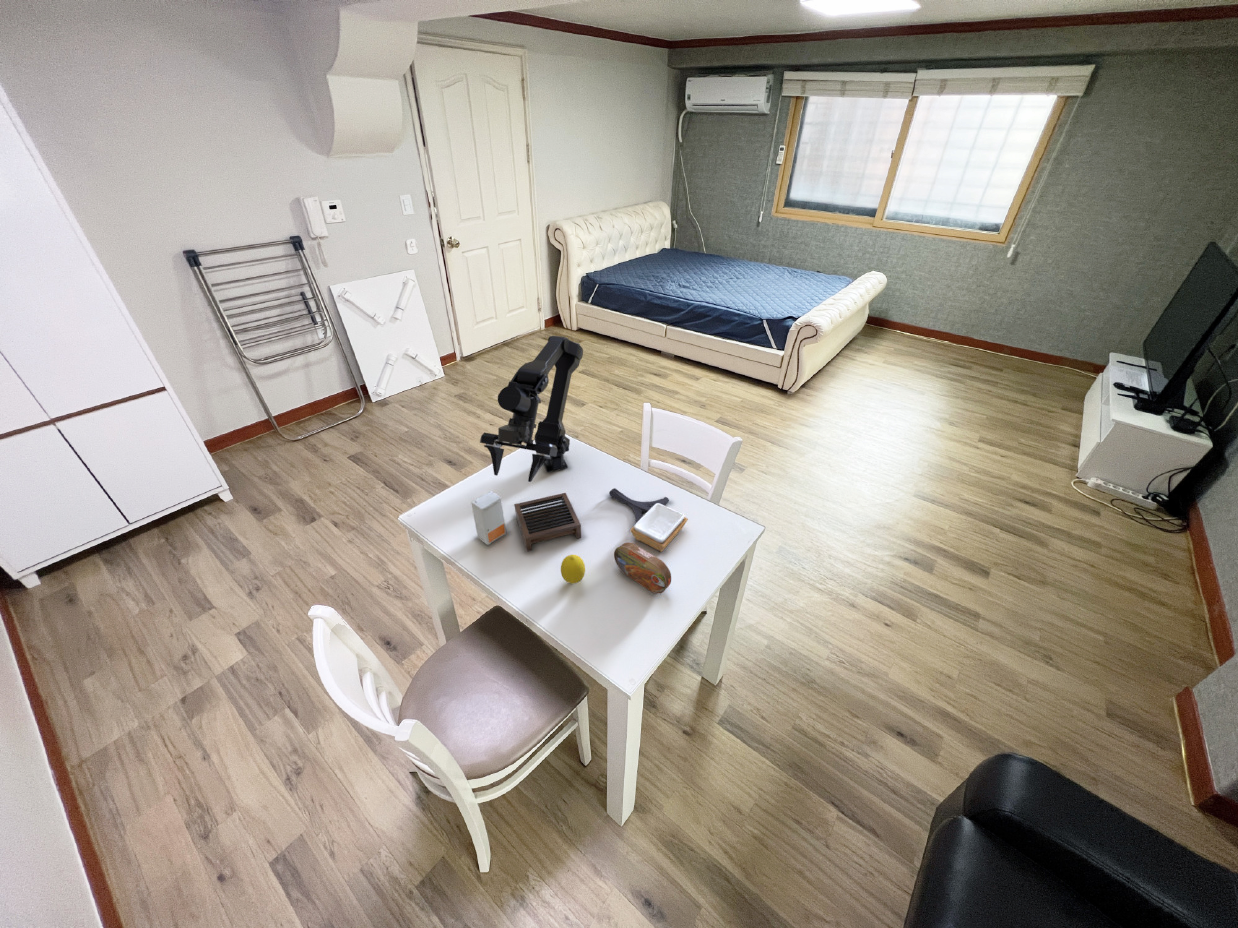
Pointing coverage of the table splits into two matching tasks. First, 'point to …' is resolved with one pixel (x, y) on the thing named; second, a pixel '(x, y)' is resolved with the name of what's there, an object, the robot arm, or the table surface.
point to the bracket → (636, 503)
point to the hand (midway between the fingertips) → (512, 478)
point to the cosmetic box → (489, 517)
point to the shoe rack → (546, 519)
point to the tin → (643, 567)
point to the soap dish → (659, 526)
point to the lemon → (572, 569)
